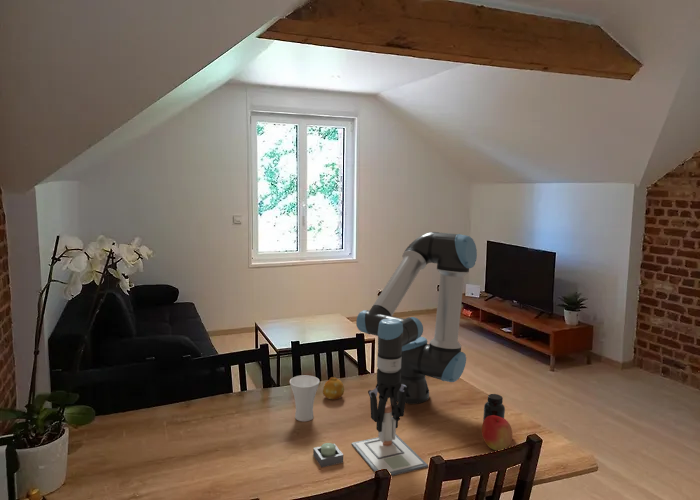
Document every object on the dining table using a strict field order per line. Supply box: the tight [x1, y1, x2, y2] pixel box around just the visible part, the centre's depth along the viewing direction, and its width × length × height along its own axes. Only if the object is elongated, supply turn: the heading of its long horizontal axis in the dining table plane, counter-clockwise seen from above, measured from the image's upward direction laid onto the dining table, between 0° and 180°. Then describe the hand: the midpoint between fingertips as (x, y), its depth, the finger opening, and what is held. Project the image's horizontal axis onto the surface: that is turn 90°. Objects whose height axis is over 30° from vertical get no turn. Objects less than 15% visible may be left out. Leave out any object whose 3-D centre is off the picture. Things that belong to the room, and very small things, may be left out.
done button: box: [321, 442, 337, 457], centre depth 157 cm, size 4×4×3 cm
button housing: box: [312, 443, 344, 468], centre depth 158 cm, size 7×7×2 cm
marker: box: [383, 404, 393, 446], centre depth 165 cm, size 4×4×12 cm
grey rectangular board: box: [350, 433, 429, 477], centre depth 160 cm, size 20×16×1 cm
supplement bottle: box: [482, 393, 506, 422], centre depth 177 cm, size 7×7×12 cm
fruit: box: [322, 376, 345, 401], centre depth 200 cm, size 8×8×8 cm
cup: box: [289, 374, 320, 422], centre depth 183 cm, size 10×10×14 cm
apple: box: [481, 415, 513, 451], centre depth 165 cm, size 10×10×10 cm
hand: (386, 438), depth 166 cm, fingers closed on marker, 3 cm apart
